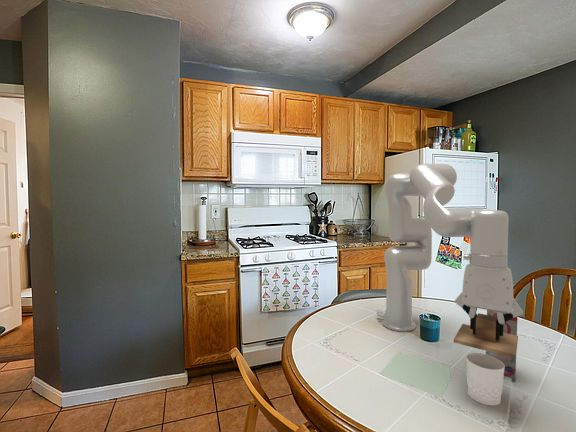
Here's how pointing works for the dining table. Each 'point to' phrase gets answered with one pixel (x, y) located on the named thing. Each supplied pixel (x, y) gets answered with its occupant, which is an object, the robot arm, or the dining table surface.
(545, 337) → the dining table surface
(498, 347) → the lid
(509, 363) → the juice carton
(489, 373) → the white cup
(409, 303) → the robot arm
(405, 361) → the mat
